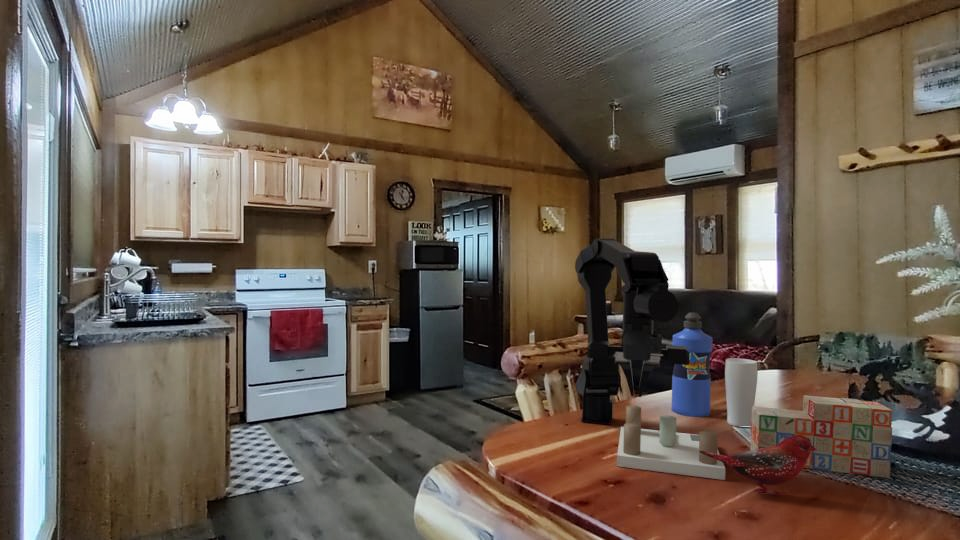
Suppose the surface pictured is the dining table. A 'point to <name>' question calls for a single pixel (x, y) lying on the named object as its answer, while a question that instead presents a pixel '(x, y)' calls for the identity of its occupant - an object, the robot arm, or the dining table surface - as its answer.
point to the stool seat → (667, 450)
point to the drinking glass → (740, 390)
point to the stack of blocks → (831, 433)
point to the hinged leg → (667, 430)
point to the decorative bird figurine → (770, 462)
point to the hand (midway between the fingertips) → (636, 396)
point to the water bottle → (692, 371)
